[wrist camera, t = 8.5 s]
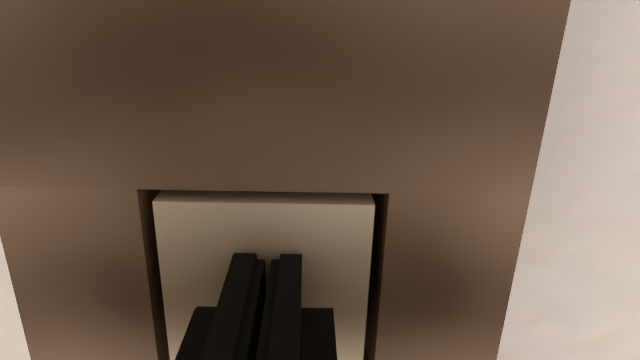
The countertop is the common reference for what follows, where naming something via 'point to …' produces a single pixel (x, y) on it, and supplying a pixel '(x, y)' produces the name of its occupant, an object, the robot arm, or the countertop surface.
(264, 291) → the robot arm
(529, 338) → the countertop surface
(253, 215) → the peg
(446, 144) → the walnut block
